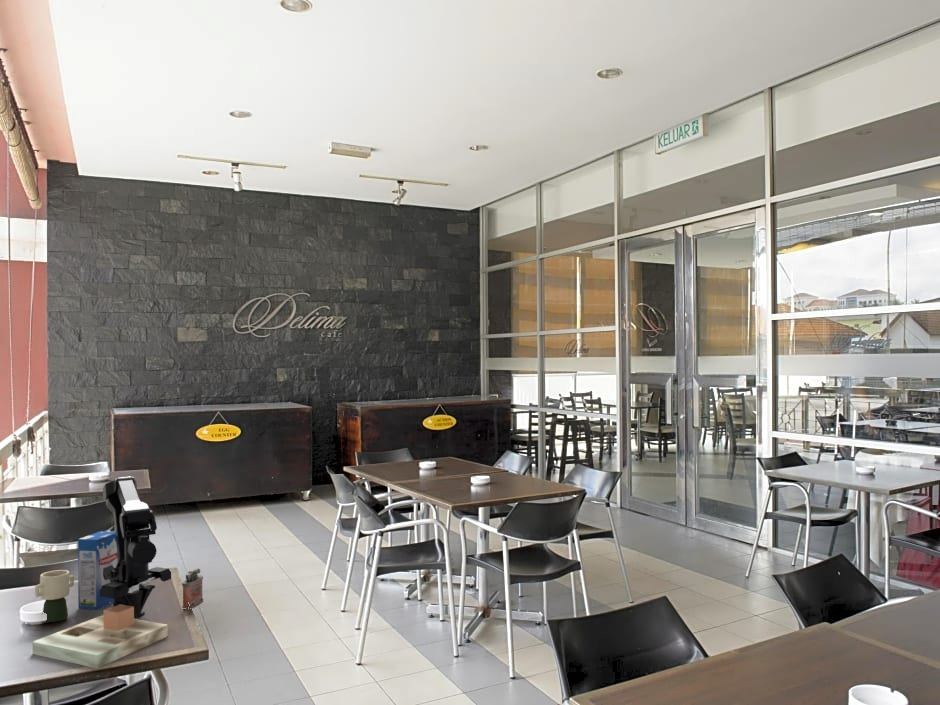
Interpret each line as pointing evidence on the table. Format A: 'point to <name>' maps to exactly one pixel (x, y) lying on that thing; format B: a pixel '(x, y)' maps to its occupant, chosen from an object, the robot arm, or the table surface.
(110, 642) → the cream flat piece
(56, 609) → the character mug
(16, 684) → the table surface
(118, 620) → the block
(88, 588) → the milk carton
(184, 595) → the lighter
